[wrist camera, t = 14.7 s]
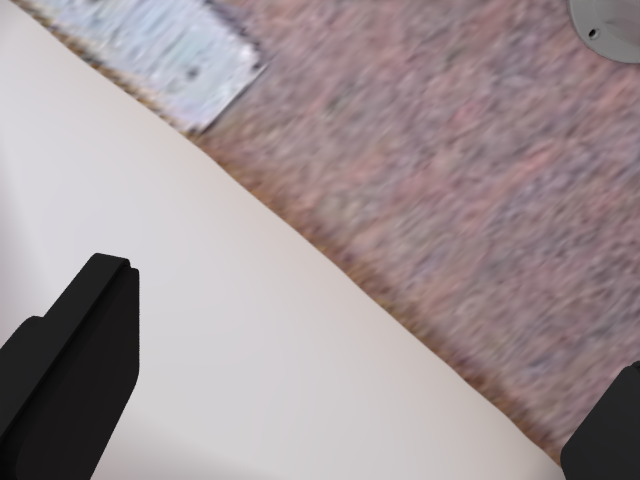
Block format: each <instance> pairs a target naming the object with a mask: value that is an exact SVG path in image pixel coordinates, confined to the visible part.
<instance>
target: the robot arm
mask: <svg viewBox="0 0 640 480" xmlns="http://www.w3.org/2000/svg"><path fill="white" fill-rule="evenodd" d="M566 1H567V11H568V14H569V18H570V21H571V24H572V26H573V28H574V30H575V32H576V33H577V35H578V37H579V38H580V39H581V40H582V41H583V42H584V43H585V44H586V45H587V47H588V48H590V49H592V50H593V51H595V52H596V53H597V54H599V55H601V56H603V57H606V58H608V59H610V60H613V61H617V62H622V63H635V64H640V0H566ZM592 29H593V33H592V35H589V32H590V31H591V30H592ZM138 375H139V270H138V269H135V268H131V266H130V262H129V260H128V259H125V258H121V257H116V256H111V255H106V254H101V253H95V254H94V255H93V256H92V257H91V258H90V259H89V260H88V261H87V263H86V264H85V265H84V266H83V268H82V269H81V270H80V272H79V273H78V274H77V275H76V277H75V278H74V279H73V280H72V282H71V283H70V284H69V285H68V287H67V288H66V289H65V291H64V292H63V293H62V294H61V295H60V297H59V298H58V299H57V300H56V302H55V303H54V304H53V306H52V307H51V308H50V309H49V310H48V312H47V313H46V314H45V315H44V317H39V316H32V317H30V318H28V319H26V320H25V321H24V322H23V323H22V324H21V325H20V327H18V329H17V330H16V331H15V332H14V333H13V334H12V336H11V337H10V338H9V339H8V340H7V342H6V343H5V344H4V345H3V346H2V348H1V349H0V480H90V479H91V476H92V474H93V473H94V470H95V468H96V466H97V464H98V462H99V460H100V458H101V456H102V454H103V452H104V450H105V448H106V446H107V443H108V441H109V439H110V437H111V435H112V433H113V431H114V429H115V427H116V425H117V423H118V421H119V419H120V416H121V414H122V412H123V410H124V408H125V406H126V404H127V402H128V400H129V398H130V396H131V394H132V392H133V389H134V387H135V385H136V382H137V378H138ZM560 461H561V467H562V470H563V472H564V475H565V478H566V480H640V361H636V362H634V363H633V364H632V365H631V366H627V367H625V368H624V369H623V370H622V371H621V372H620V373H619V375H618V376H617V377H616V379H615V380H614V381H613V383H612V384H611V385H610V387H609V388H608V389H607V390H606V392H605V393H604V394H603V396H602V397H601V398H600V400H599V401H598V402H597V404H596V405H595V406H594V408H593V409H592V410H591V411H590V413H589V414H588V415H587V417H586V418H585V419H584V421H583V422H582V423H581V425H580V426H579V427H578V429H577V430H576V431H575V432H574V434H573V435H572V436H571V438H570V439H569V440H568V442H567V443H566V444H565V446H564V447H563V449H562V451H561V457H560Z"/></svg>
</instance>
